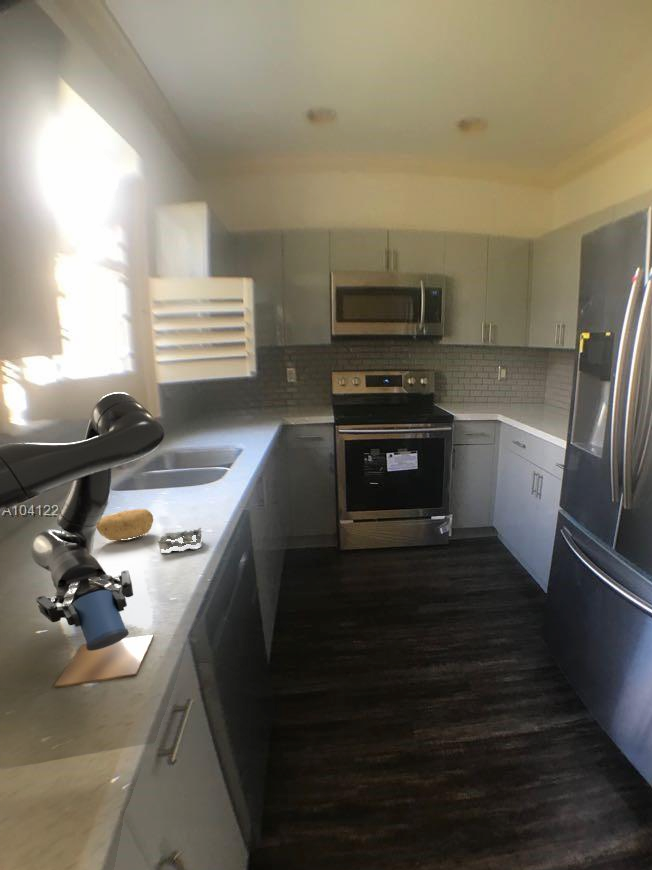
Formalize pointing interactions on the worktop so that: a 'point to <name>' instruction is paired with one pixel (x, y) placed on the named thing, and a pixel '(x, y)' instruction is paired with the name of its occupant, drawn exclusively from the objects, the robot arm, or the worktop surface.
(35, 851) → the worktop surface
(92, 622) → the cap
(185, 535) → the egg carton
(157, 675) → the worktop surface
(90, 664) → the mat
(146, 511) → the potato
